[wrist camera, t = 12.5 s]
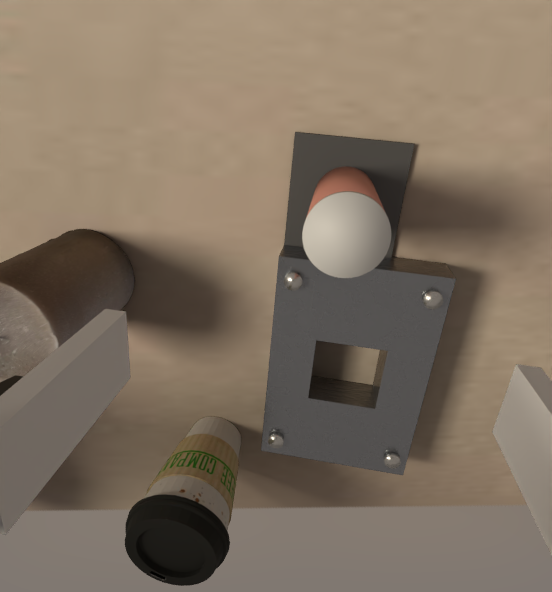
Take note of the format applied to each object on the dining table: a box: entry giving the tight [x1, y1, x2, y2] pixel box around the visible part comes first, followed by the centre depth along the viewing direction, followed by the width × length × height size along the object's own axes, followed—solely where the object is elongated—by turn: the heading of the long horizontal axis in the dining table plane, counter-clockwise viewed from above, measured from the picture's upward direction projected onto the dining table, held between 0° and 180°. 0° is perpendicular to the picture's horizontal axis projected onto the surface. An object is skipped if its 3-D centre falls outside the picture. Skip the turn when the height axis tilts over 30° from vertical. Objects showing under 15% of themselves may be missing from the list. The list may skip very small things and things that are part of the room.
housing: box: [261, 245, 456, 475], centre depth 43 cm, size 15×22×5 cm
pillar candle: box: [0, 229, 135, 382], centre depth 39 cm, size 10×10×15 cm
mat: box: [284, 132, 414, 258], centre depth 39 cm, size 10×10×1 cm
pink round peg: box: [302, 166, 391, 278], centre depth 33 cm, size 5×5×13 cm
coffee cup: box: [125, 416, 241, 586], centre depth 45 cm, size 10×10×15 cm
